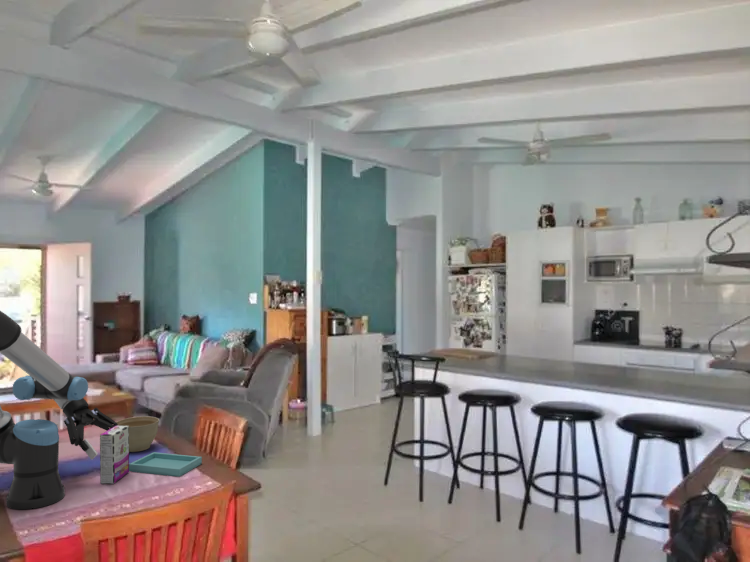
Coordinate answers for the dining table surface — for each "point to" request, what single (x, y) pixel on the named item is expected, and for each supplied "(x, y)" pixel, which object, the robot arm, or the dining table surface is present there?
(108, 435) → the candy bar box
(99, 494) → the dining table surface
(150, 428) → the planter bowl
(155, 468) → the tray
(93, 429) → the dining table surface
